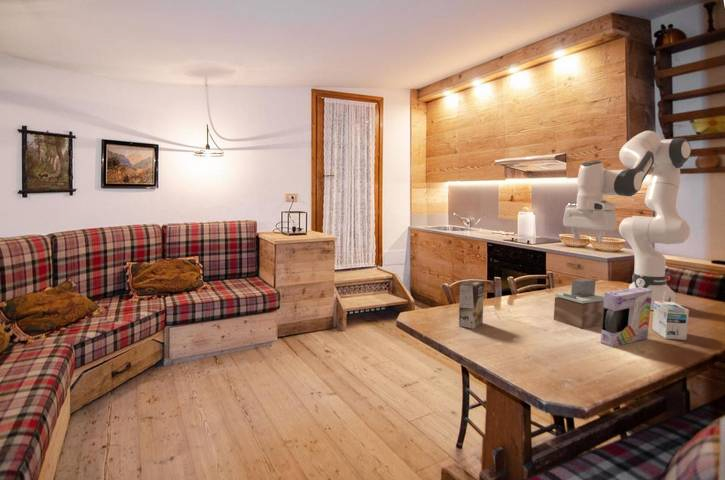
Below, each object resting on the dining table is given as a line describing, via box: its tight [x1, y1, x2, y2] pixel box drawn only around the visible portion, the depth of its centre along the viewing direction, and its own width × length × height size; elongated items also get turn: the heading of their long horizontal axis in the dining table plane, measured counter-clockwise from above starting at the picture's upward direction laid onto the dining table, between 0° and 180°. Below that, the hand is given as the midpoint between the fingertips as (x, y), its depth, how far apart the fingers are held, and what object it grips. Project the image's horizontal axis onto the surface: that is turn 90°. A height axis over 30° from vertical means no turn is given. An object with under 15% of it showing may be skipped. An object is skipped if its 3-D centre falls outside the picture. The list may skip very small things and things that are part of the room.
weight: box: [570, 277, 597, 297], centre depth 166 cm, size 8×4×6 cm, turn 116°
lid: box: [554, 291, 604, 304], centre depth 166 cm, size 16×12×2 cm
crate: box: [553, 296, 604, 329], centre depth 167 cm, size 16×12×9 cm
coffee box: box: [458, 280, 485, 330], centre depth 162 cm, size 9×6×16 cm
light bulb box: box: [651, 301, 690, 341], centre depth 152 cm, size 11×7×11 cm, turn 168°
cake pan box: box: [600, 287, 652, 348], centre depth 144 cm, size 19×5×18 cm, turn 114°
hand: (587, 240), depth 166 cm, fingers open, 8 cm apart
